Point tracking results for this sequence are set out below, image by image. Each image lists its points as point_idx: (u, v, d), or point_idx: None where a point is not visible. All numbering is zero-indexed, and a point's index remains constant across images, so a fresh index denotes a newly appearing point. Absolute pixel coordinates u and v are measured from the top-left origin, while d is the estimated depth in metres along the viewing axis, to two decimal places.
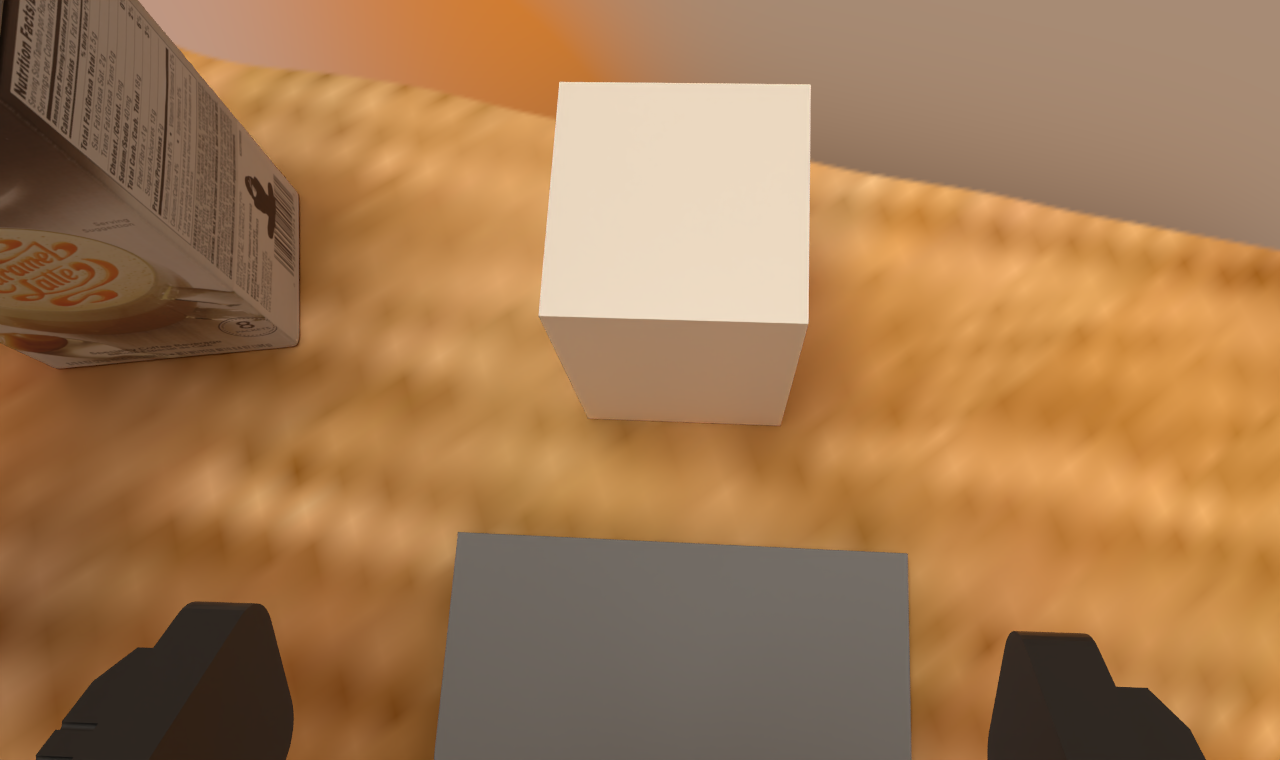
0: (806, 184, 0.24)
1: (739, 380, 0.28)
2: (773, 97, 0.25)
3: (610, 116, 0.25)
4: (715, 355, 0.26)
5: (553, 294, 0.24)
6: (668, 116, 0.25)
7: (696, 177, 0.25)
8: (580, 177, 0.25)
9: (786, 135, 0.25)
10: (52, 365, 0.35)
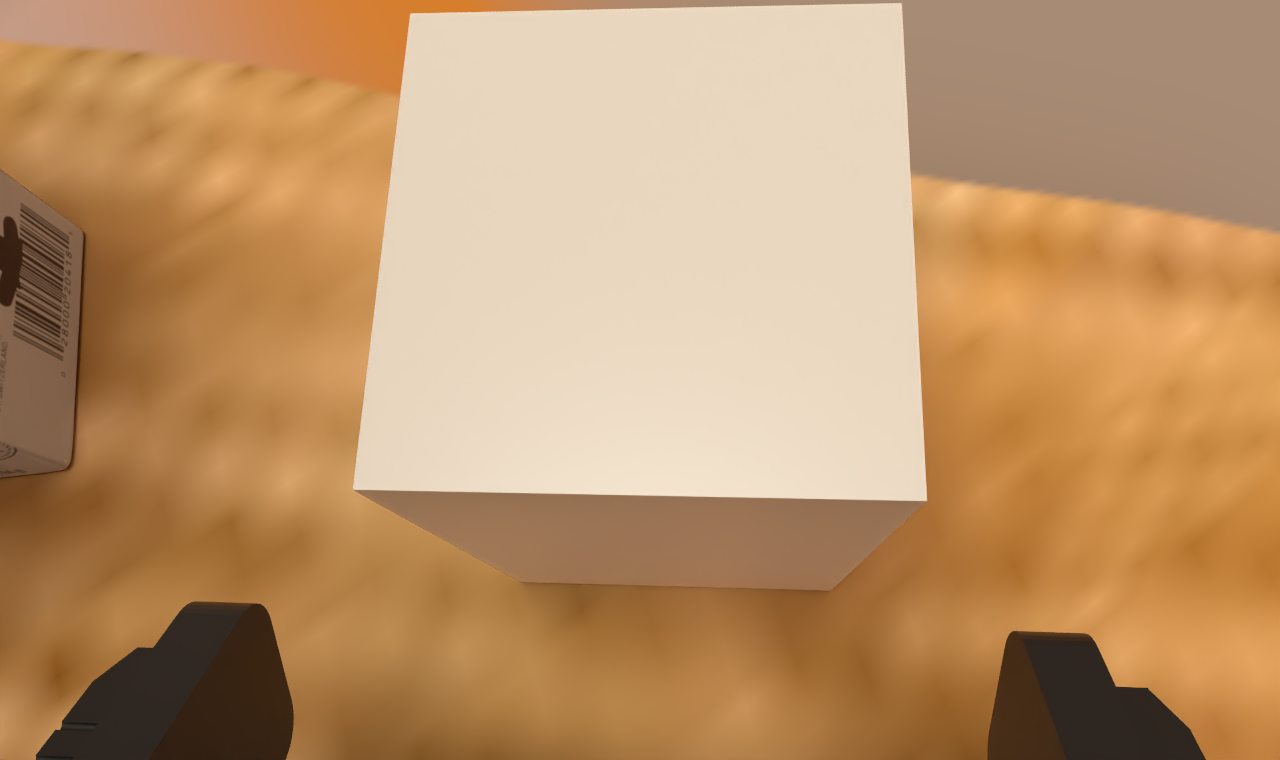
0: (905, 201, 0.12)
1: (768, 556, 0.16)
2: (829, 30, 0.13)
3: (507, 76, 0.13)
4: (725, 533, 0.14)
5: (385, 442, 0.12)
6: (621, 73, 0.13)
7: (679, 191, 0.12)
8: (446, 197, 0.12)
9: (858, 103, 0.12)
10: None
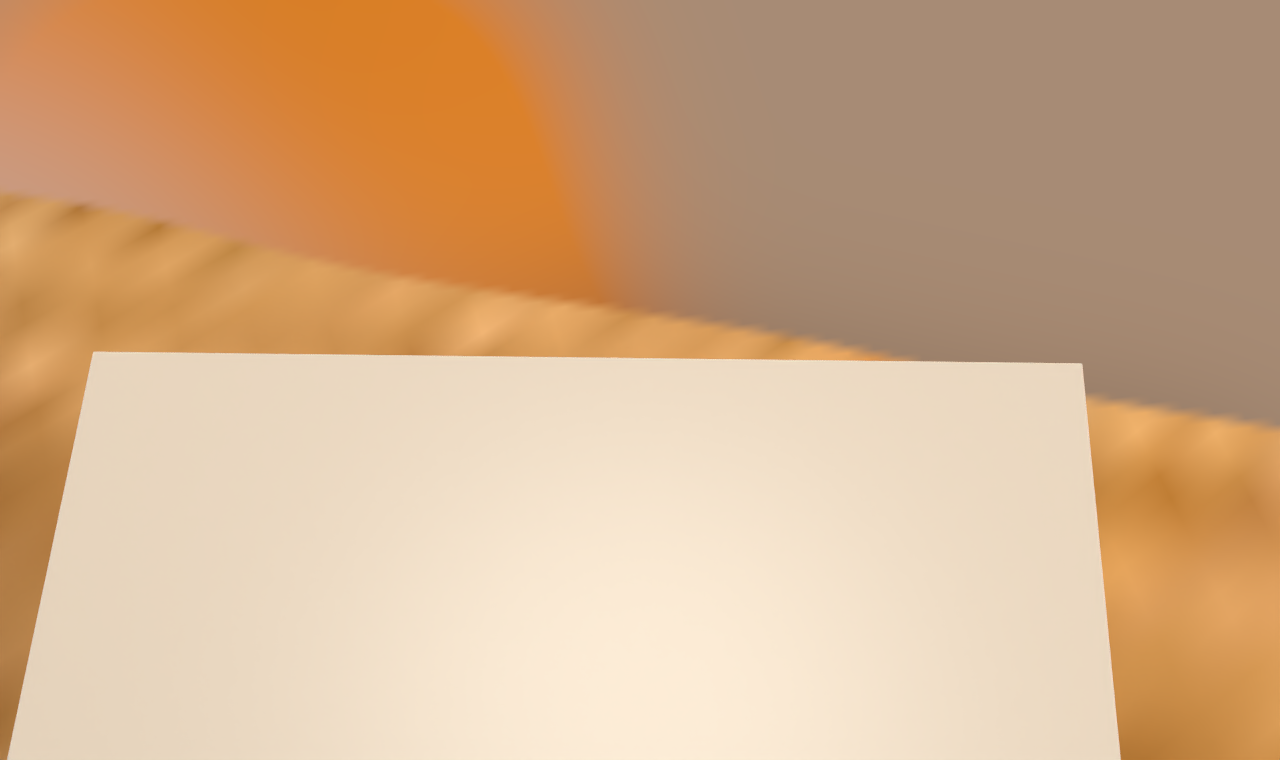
0: None
1: None
2: (934, 422, 0.06)
3: (271, 502, 0.06)
4: None
5: None
6: (498, 506, 0.06)
7: None
8: None
9: (1001, 601, 0.06)
10: None
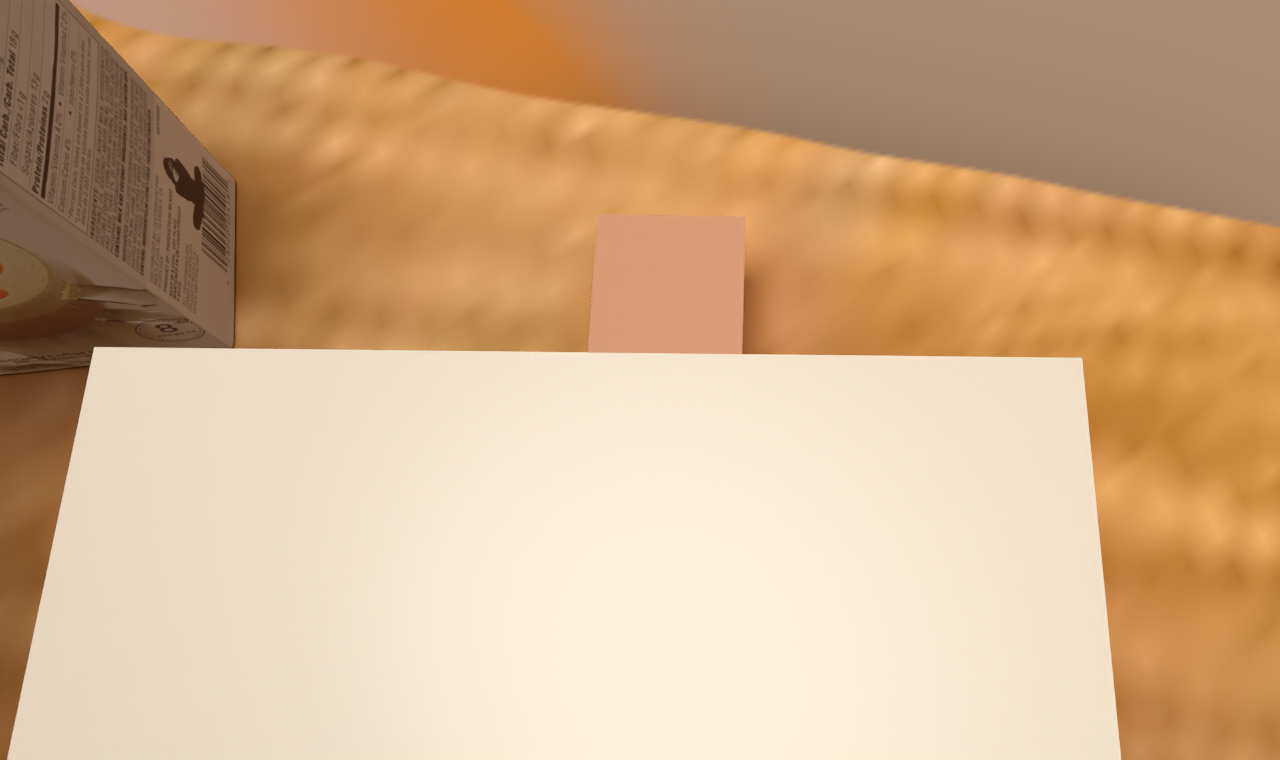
0: None
1: None
2: (932, 415, 0.06)
3: (272, 497, 0.06)
4: None
5: None
6: (499, 499, 0.06)
7: None
8: None
9: (1000, 595, 0.06)
10: None
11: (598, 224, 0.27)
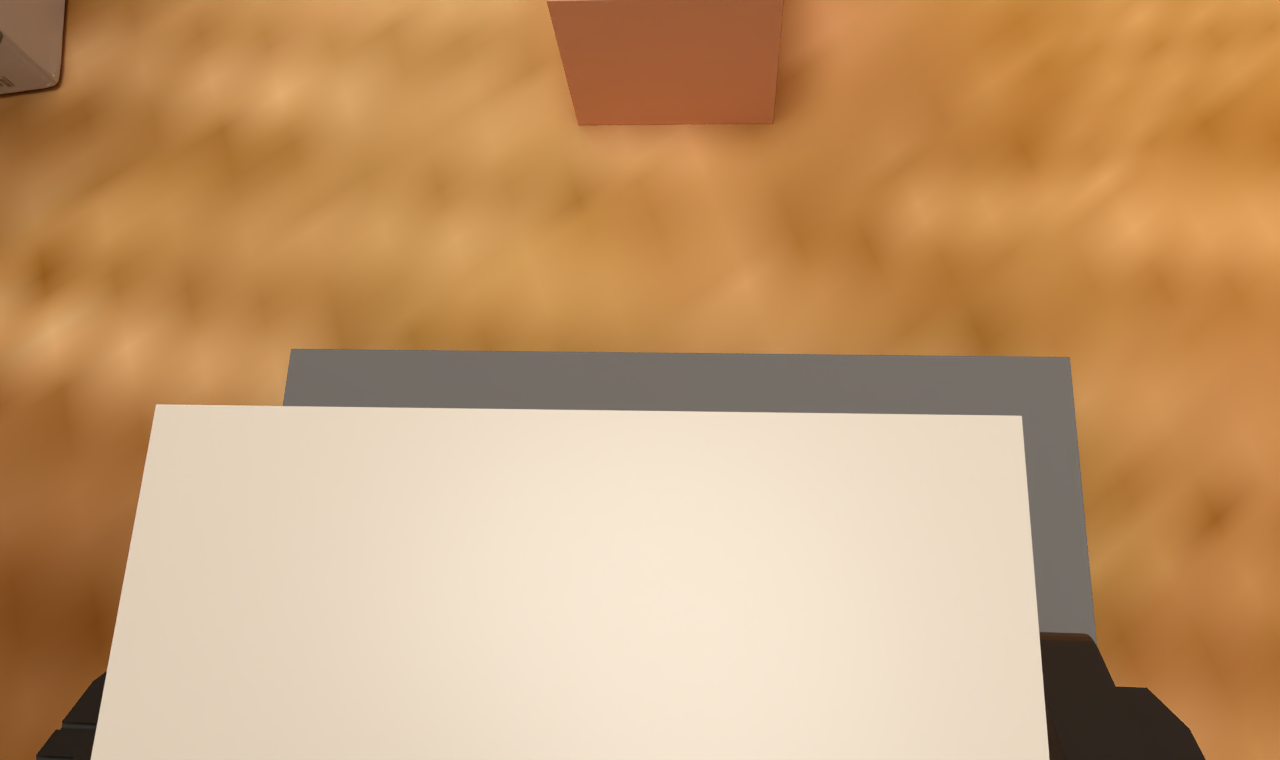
0: None
1: None
2: (890, 466, 0.07)
3: (315, 538, 0.07)
4: None
5: None
6: (515, 541, 0.07)
7: None
8: None
9: (948, 624, 0.07)
10: None
11: None
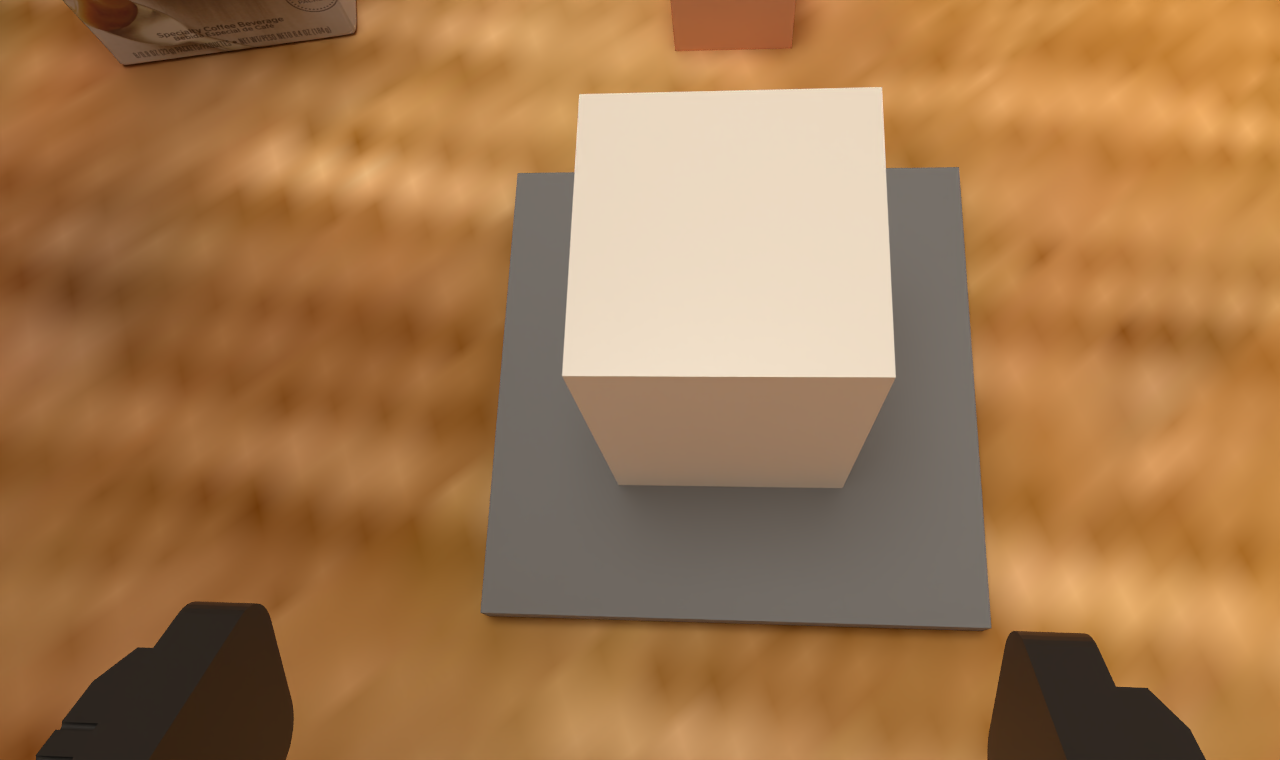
0: (883, 206, 0.20)
1: (800, 442, 0.24)
2: (837, 103, 0.21)
3: (641, 132, 0.21)
4: (775, 415, 0.22)
5: (579, 349, 0.20)
6: (711, 130, 0.21)
7: (748, 201, 0.20)
8: (608, 206, 0.21)
9: (855, 148, 0.21)
10: (119, 57, 0.36)
11: None
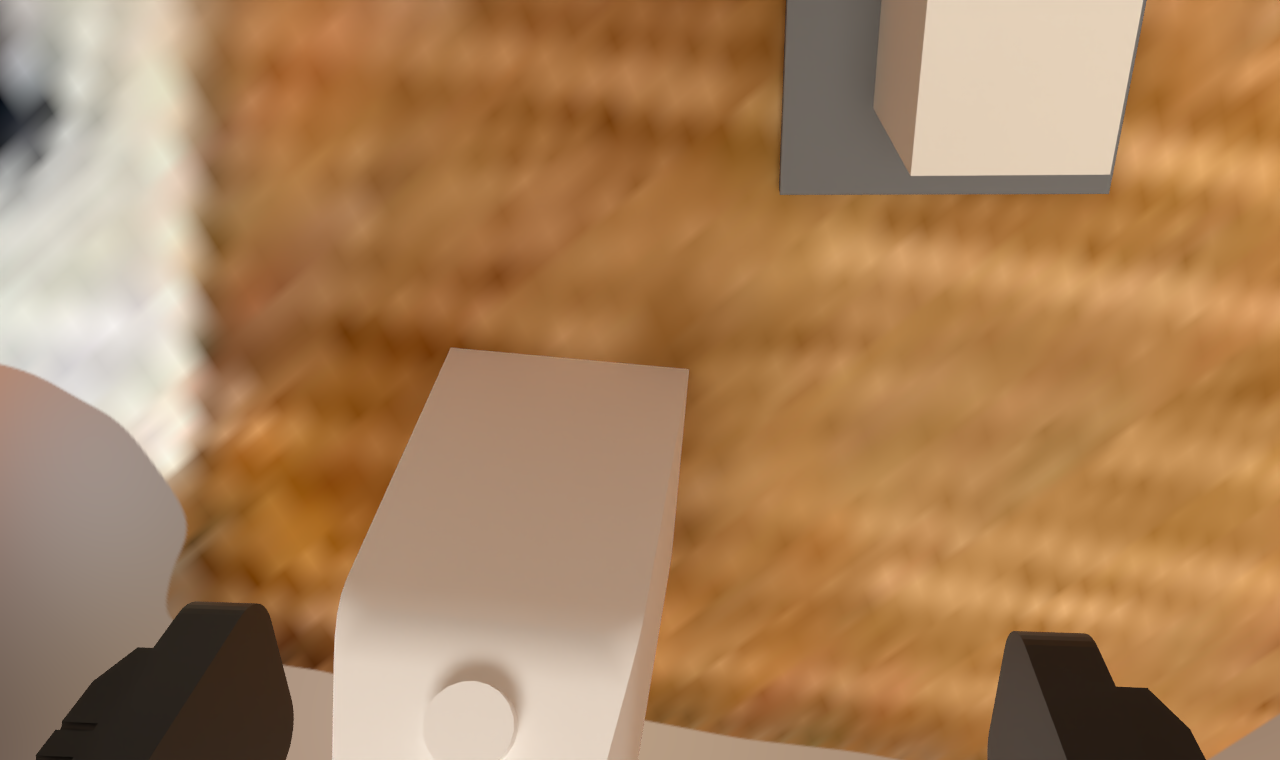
0: (1129, 60, 0.31)
1: None
2: None
3: (973, 2, 0.31)
4: None
5: (922, 159, 0.33)
6: (1022, 0, 0.31)
7: (1040, 57, 0.31)
8: (945, 61, 0.32)
9: (1120, 15, 0.30)
10: None
11: None
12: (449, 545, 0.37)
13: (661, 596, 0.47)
